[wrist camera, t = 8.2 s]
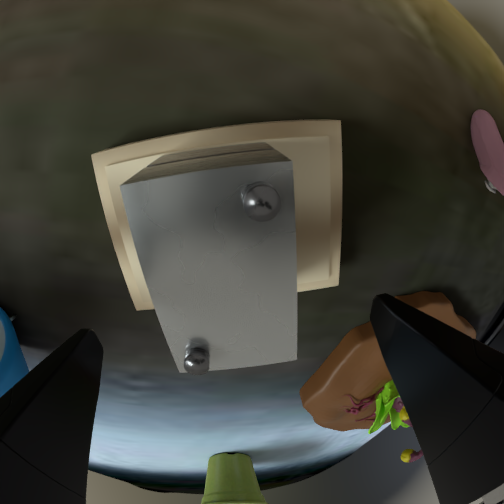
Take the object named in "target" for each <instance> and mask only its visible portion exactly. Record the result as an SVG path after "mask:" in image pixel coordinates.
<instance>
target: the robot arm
mask: <svg viewBox="0 0 504 504" xmlns="http://www.w3.org/2000/svg"><path fill="white" fill-rule="evenodd" d="M370 321H371V325H372V327H373V330H374V333H375V336H376V339H377V342H378V345H379V348H380V350H381V353H382V356H383V359H384V362H385V364H386V366H387V369H388V371H389V373H390V375H391V377H392V380H393V382H394V384H395V386H396V389H397V391H398V393H399V395H400V398H401V400H402V402H403V405H404V407H405V409H406V412H407V414H408V417H409V419H410V422H411V424H412V426H413V429H414V431H415V434H416V437H417V439H418V442H419V444H420V447H421V450H422V452H423V455H424V458H425V460H426V463H427V465H428V469H429V472H430V475H431V478H432V481H433V484H434V487H435V490H436V493H437V496H438V499H439V503H440V504H469V503H471V502H473V501H475V500H477V499H479V498H480V497H482V499H483V502H481V503H480V504H504V353H502V352H499V351H497V350H495V349H493V348H491V347H489V346H487V345H485V344H483V343H481V342H479V341H478V340H476V339H474V338H473V339H472V337H470V336H468V335H466V334H464V333H463V332H461V331H459V330H457V329H455V328H453V327H451V326H449V325H447V324H445V323H444V322H442V321H440V320H438V319H436V318H434V317H432V316H430V315H428V314H426V313H424V312H422V311H420V310H418V309H416V308H414V307H413V306H411V305H409V304H407V303H405V302H403V301H401V300H399V299H397V298H395V297H393V296H391V295H389V294H386V293H384V294H379V295H376V296H375V297H374V298H373V303H372V308H371V314H370ZM102 360H103V347H102V345H101V343H100V341H99V339H98V338H97V336H96V334H95V332H94V331H93V330H92V329H80V330H79V331H78V332H77V333H75V334H74V335H73V336H72V337H70V338H69V339H68V340H67V341H66V342H64V343H63V344H62V345H61V346H60V347H58V348H57V349H56V350H55V351H53V352H52V353H51V354H50V355H49V356H48V357H46V358H45V359H44V360H43V361H42V362H40V363H39V364H38V365H37V366H36V367H35V368H33V369H32V370H31V371H30V372H29V373H28V374H26V375H25V376H24V377H23V378H22V379H21V380H20V381H18V382H17V383H16V384H15V385H14V386H13V388H10V389H9V390H8V391H7V392H6V393H5V394H4V395H3V396H1V397H0V504H86V487H87V474H88V463H89V454H90V445H91V438H92V431H93V424H94V418H95V412H96V406H97V401H98V395H99V388H100V378H101V369H102Z"/></svg>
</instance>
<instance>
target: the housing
mask: <svg viewBox="0 0 504 504" xmlns="http://www.w3.org/2000/svg"><path fill="white" fill-rule="evenodd" d="M120 190H121V194H122V199H123V203H124V207H125V211H126V215H127V219H128V223H129V227H130V231H131V234H132V238H133V242H134V245H135V249H136V252H137V256H138V259H139V262H140V266H141V269H142V272H143V275H144V279H145V282H146V285H147V288H148V291H149V294H150V297H151V300H152V303H153V305H154V308H155V311H156V314H157V317H158V319H159V322H160V325H161V327H162V330H163V333H164V335H165V338H166V340H167V343H168V345H169V348H170V350H171V353H172V355H173V358H174V360H175V363H176V365H177V367H178V370H179V372H180V373H184V372H188V373H190V374H194V375H202V374H205V373H207V372H208V371H213V370H224V369H234V368H243V367H251V366H259V365H266V364H273V363H280V362H286V361H292V360H297V254H296V222H295V198H294V178H293V161H292V160H290V159H289V158H288V157H286V156H285V155H283V154H282V153H280V152H279V151H277V150H276V149H274V148H273V147H271V146H270V145H269V144H267V143H266V142H257V143H247V144H238V145H229V146H221V147H214V148H206V149H200V150H193V151H187V152H181V153H175V154H169V155H164V156H161V157H159V158H158V159H156V160H155V161H153V162H152V163H150V164H149V165H148V166H147V167H146V168H143V169H142V170H140V171H139V172H138V173H136V174H135V175H133V176H132V177H131V178H129V179H128V180H127V181H125V182H124V183H123V184H121V185H120Z"/></svg>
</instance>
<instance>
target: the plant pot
mask: <svg viewBox="0 0 504 504" xmlns="http://www.w3.org/2000/svg"><path fill="white" fill-rule="evenodd" d="M201 504H268V503H266V502H265V499H264V496H263V495H262V494H261V492H260V488H259V485H258V482H257V479H256V475H255V472H254V468H253V464H252V461H251V458H250V457H249V456H248V455H245V454H241V453H236V454H233V455H230V454H227V453H221V454H217V455H214V456H211V457H210V458H209V461H208V470H207V477H206V485H205V492H204V497H203V498H202V503H201Z"/></svg>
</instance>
